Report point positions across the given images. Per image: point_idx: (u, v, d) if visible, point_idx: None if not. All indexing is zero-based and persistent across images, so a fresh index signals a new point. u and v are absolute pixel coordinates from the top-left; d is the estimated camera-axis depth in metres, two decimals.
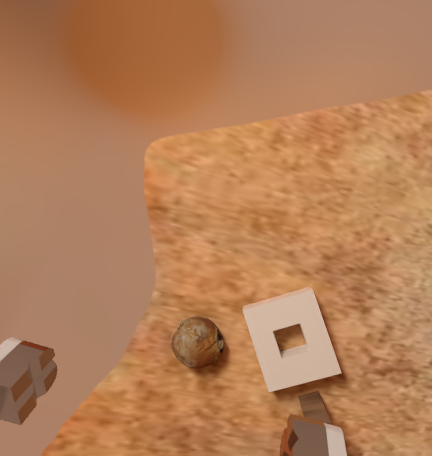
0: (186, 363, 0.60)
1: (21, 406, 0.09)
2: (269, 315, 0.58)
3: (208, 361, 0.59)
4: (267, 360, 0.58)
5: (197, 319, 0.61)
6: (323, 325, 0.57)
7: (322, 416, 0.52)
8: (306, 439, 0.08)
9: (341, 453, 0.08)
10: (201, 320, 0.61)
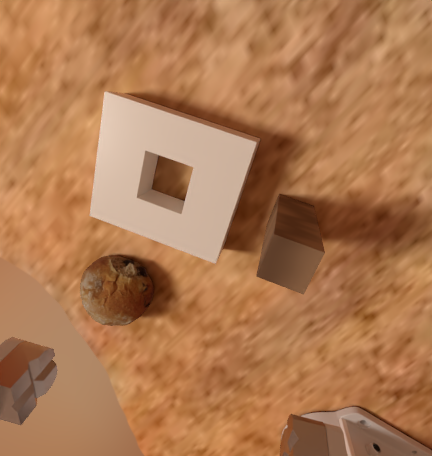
0: (125, 322, 0.41)
1: (21, 406, 0.09)
2: (112, 185, 0.34)
3: (134, 300, 0.39)
4: (172, 234, 0.34)
5: (83, 273, 0.41)
6: (167, 115, 0.30)
7: (272, 228, 0.27)
8: (306, 439, 0.08)
9: (341, 453, 0.08)
10: (86, 269, 0.40)
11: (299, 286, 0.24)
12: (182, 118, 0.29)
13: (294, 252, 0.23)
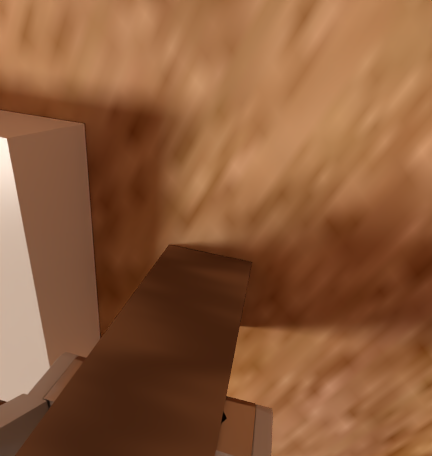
0: None
1: None
2: None
3: None
4: None
5: None
6: None
7: None
8: (234, 419, 0.09)
9: (266, 432, 0.08)
10: None
11: None
12: None
13: None
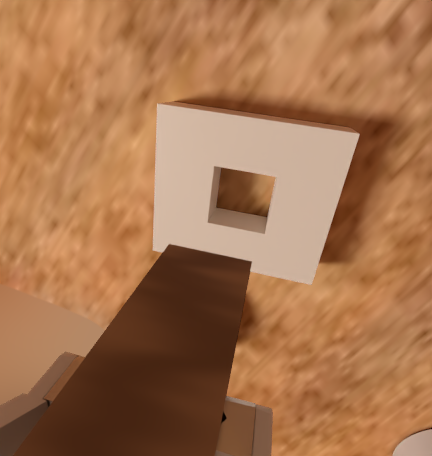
0: None
1: None
2: (177, 213, 0.28)
3: None
4: (255, 257, 0.29)
5: None
6: (239, 119, 0.24)
7: None
8: (234, 418, 0.09)
9: (266, 431, 0.08)
10: None
11: None
12: (258, 120, 0.24)
13: None
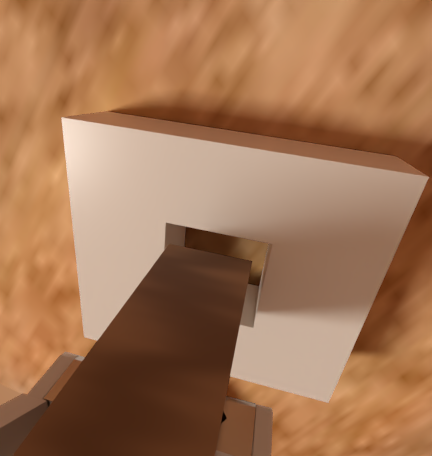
0: None
1: None
2: (114, 289, 0.18)
3: None
4: (238, 359, 0.18)
5: None
6: (203, 147, 0.13)
7: None
8: (234, 419, 0.09)
9: (266, 431, 0.08)
10: None
11: None
12: (238, 148, 0.13)
13: None
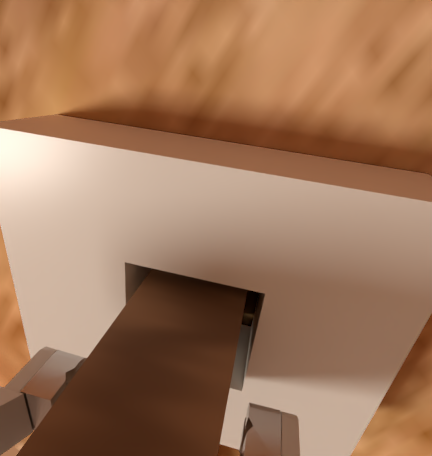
0: None
1: None
2: (67, 338, 0.14)
3: None
4: (225, 425, 0.14)
5: None
6: (168, 166, 0.10)
7: None
8: (260, 426, 0.08)
9: (293, 439, 0.08)
10: None
11: None
12: (216, 168, 0.09)
13: None
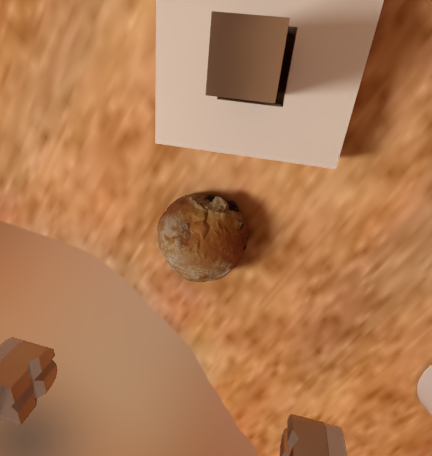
0: (222, 273, 0.33)
1: (21, 406, 0.09)
2: (182, 90, 0.25)
3: (232, 240, 0.30)
4: (271, 140, 0.25)
5: (159, 222, 0.32)
6: None
7: None
8: (306, 439, 0.08)
9: (341, 453, 0.08)
10: (162, 216, 0.32)
11: (266, 91, 0.17)
12: None
13: (247, 33, 0.16)
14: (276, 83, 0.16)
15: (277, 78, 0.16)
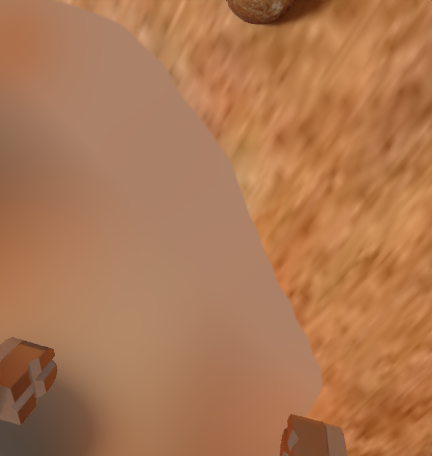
0: None
1: (21, 406, 0.09)
2: None
3: None
4: None
5: None
6: None
7: None
8: (306, 439, 0.08)
9: (341, 453, 0.08)
10: None
11: None
12: None
13: None
14: None
15: None
